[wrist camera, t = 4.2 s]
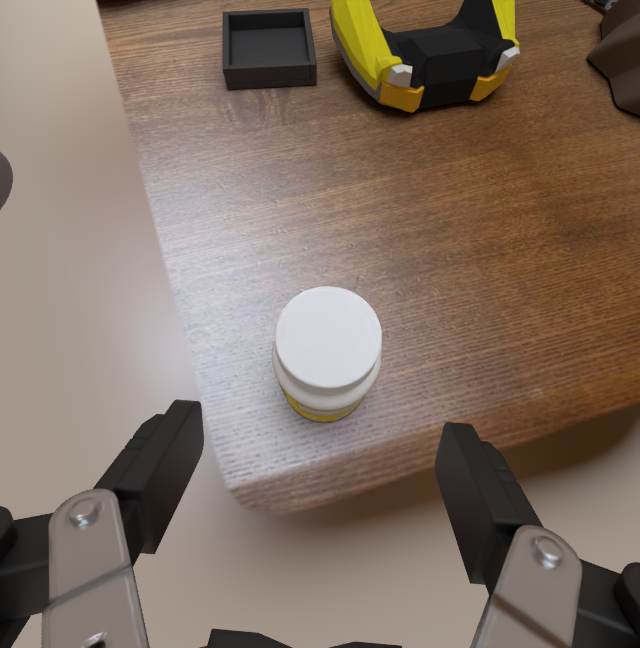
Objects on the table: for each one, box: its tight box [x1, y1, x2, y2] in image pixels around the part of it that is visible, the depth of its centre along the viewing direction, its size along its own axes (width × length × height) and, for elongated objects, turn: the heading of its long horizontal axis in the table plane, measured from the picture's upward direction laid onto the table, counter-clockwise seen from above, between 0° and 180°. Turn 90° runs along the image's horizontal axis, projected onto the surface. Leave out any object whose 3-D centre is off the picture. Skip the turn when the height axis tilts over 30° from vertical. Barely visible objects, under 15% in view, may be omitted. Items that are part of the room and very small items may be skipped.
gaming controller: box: [329, 0, 520, 113], centre depth 28 cm, size 15×6×10 cm
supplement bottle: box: [272, 286, 382, 423], centre depth 17 cm, size 5×5×8 cm
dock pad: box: [223, 8, 316, 90], centre depth 30 cm, size 7×7×2 cm
